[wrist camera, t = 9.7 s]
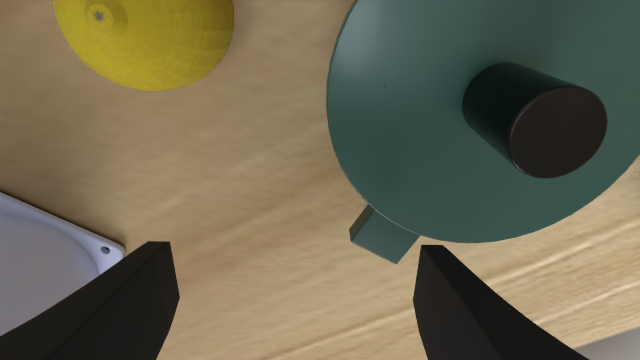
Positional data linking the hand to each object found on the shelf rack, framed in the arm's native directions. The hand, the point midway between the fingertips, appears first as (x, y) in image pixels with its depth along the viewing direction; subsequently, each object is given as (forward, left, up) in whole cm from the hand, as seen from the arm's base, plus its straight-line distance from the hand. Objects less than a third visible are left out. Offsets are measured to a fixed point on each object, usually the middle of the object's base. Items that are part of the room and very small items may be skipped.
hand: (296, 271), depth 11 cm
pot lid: (+3, +7, -4) cm, 9 cm away
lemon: (-8, +3, -11) cm, 14 cm away
